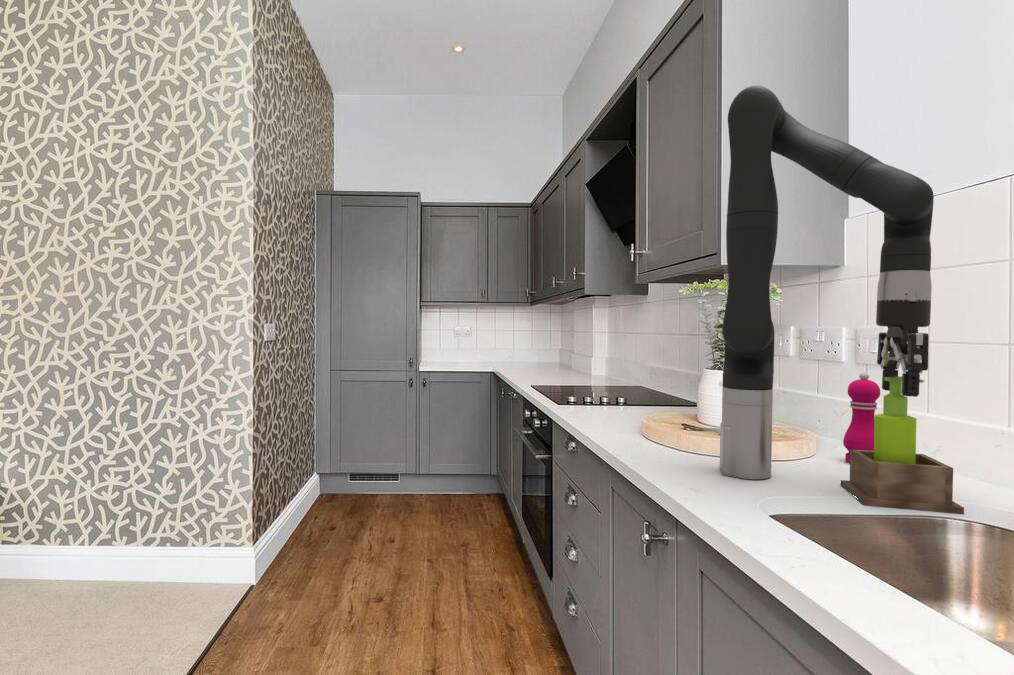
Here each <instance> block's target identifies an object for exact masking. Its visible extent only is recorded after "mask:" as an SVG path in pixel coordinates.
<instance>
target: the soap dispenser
mask: <svg viewBox="0 0 1014 675" xmlns="http://www.w3.org/2000/svg"><path fill="white" fill-rule="evenodd" d="M884 381H890V391H889V393H887V394H885V395H883V405H882V406H883V411H882V412H883V413H877V414H874V419H875V420H874V461H876V462H889V463H904V464H916V454H917V418H916V417H913V416H911V415H908V404H909V403H908V396H904V395H902V376H899V375H898V377H884ZM924 382H925V380H924V379H921V378H920V382H919V384H922V383H924Z"/></svg>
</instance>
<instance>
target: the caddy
mask: <svg viewBox="0 0 1014 675" xmlns="http://www.w3.org/2000/svg"><path fill="white" fill-rule="evenodd" d="M953 486H954V467H952V466H950V465H947V464H945V463H943V462H941V461H938V460H937V459H934V458H932V457H931V456H929V455H926V454H925V453H916V464H904V463H889V462H876V461H874V451H868V450H853V449H850V464H849V480H846V479H845V480H843V479H841V480H840V487H842V488H843V489H844V488H845V489H846V490H847V491H846V490H845V489H844V490H845V491H846V492H848V493H849V492H850V493H851V494H852V495H854V496H856V497H857V498H858V500H857V502H859V503H860V504H861V505H862V506H870V507H872V506H873V507H880V508H881V507H882V508H892V509H902V510H903V509H904V510H915V511H926V512H938V513H949V514H960V515H964V514H965V507H964V506H962V505H960V504H958V503H957V502H955V501H953V494H954V493H953V491H954V489H953V488H954V487H953ZM850 493H849V494H850ZM851 494H850V495H851ZM852 495H851V496H852Z"/></svg>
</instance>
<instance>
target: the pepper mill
mask: <svg viewBox="0 0 1014 675" xmlns="http://www.w3.org/2000/svg"><path fill="white" fill-rule="evenodd" d="M858 377H859V379H855V380H853V381H851V382H850V383H849V385H848V386H847V394H848V395H847V396H848V397H849V398H850V399H851V401H849V403H850V405H849V407H850V408H851V409H852V410H851V412H852V415H851V421H850V424H849V426H848V428H847V430H846V431H845V434H844V436H843V440H842V442H843V446H844V448H845V449H846V450H847V452H846V453H845V459H844V460H845V462H846V463H847V464H849V465H850V449H853V450H868V451H874V420H875V415H876V414H875V412H876V410H877V409H878V402H877V400H878V399H879V398H880V397H881V388H880V386H879V385H878V384H877V383H876V382H875V381H873V380H871V379H869V378H870V374H868V372H865V371H864V372H863V371H862V372H860V373H859V376H858Z"/></svg>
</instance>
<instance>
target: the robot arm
mask: <svg viewBox="0 0 1014 675" xmlns="http://www.w3.org/2000/svg"><path fill="white" fill-rule="evenodd" d="M727 112H728V113H727V128H728V138H729V139H728V141H729V151H730V152H729V153H730V155H729V156H730V165H729V166H730V171H729V178H728V192H727V193H728V194H727V210H726V233H725V234H726V235H725V236H726V237H725V238H726V239H725V240H726V265H727V275H728V276H727V277H728V284H727V286H728V287H727V293H726V294H727V296H726V302H725V309H724V310H725V311H724V314H723V322H722V328H721V334H722V338H723V340H724V361H723V362H724V363H723V364H724V365H723V369H722V370H723V372H722V384H721V385H722V387H721V388H722V390H721V391H722V392H721V393H722V396H721V397H722V398H721V422H720V424H719V426H720V427H719V435H720V436H719V470H720V472H721V475H722V476H729V477H734V478H739V479H744V480H745V479H747V480H766V479H770V478H771V477H772V450H773V449H772V445H773V443H772V442H773V398H774V372H775V371H774V370H775V363H774V361H775V326H774V322H773V320H772V312H771V299H770V298H771V297H770V284H771V282H770V280H771V276H772V275H771V274H772V268H773V264H774V260H775V256H776V255H775V254H776V249H777V240H778V227H779V225H778V224H779V204H778V203H779V202H778V201H779V200H778V194H777V187H776V179H775V177H774V176H775V174H774V170H773V165H772V153H775V154H778V155H780V156H781V157H784V158H786V159H788V160H790V161H792V162H794V163H796V164H797V165H799V166H800V167H802V168H804V169H805V170H807V171H809V172H810V173H812V174H814V175H815V176H816V177H818V178H820V179H821V180H823V181H824V182H826V183H828V184H829V185H831V186H832V187H834V188H836V189H837V190H839V191H841V192H842V193H845V194H846V195H848V196H851V197H853V198H854V199H861V200H863V201H864V202H866V203H867V204H870V205H871V206H873V207H874V208H876V209H878V210H879V211H881V212H882V213H883V243H882V245H881V249H880V261H879V262H880V263H879V279H878V282H877V291H876V292H877V293H876V315H875V316H876V317H875V324H876V326H878V327H887V331H886V332H881V331H880V332H879V333H878V343H877V360H876V363H877V365H879V366H880V368H881V370H882V374H881V375H882V378H881V379H882V380H881V381H882V382H881V389H882V390H884V391H889V392H890V381H884V377H898V376H899V368H900V366H901V370H902V372H903V373H902V374H901V375H902V376H901V377H902V395H904V396H905V397H913V398H915V397H919V395H920V379H921V377H920V376H921V375H920V374H923V372H924V371H928V369H929V340H930V338H929V337H930V336H929V333H927V332H925V333H924V332H919V328H927V327H929V326H930V325H931V313H932V312H931V311H932V308H931V307H932V289H933V288H932V286H933V285H932V277H931V268H932V267H931V266H932V248H931V247H932V245H931V241H930V240H931V230H932V221H933V212H934V211H933V210H934V190H933V188H932V187H931V185H930V184H929V183H928V182H927V181H925V180H923V179H922V178H920V177H918V176H916V175H914V174H912V173H910V172H908V171H905V170H902V169H900V168H899V167H898V168H897V167H894V166H893V165H889V164H886V163H883V162H882V161H881V160H879V159H878V158H875V157H874V156H872V155H870V154H868V153H867V152H865V151H863V150H861V149H859V148H858V147H856V146H854V145H852V144H849V143H848V142H845V141H842V140H840V139H837V138H834V137H830V136H827V135H825V134H823V133H820V132H817V131H815V130H813V129H810V128H809V127H807V126H805V125H804V124H803V123H801V122H800V121H798V120H797V119H796V118H795V117H794V116H792V115H791V114H790V113H789V112H787V111H786V110H785V109H784V106H783V105H782V103H781V101H780V100H779V97H778V96H776V94H775V93H774V92H773V91H772V90H770V89H769V88H768V87H765V86H762V85H751V86H749V87H745V88H743V89H742V90H741V91H740V92H738V94H737V95H736V96H735V97H734V99H733V100H732V102H731V104H730V107H729V110H728V111H727Z"/></svg>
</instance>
